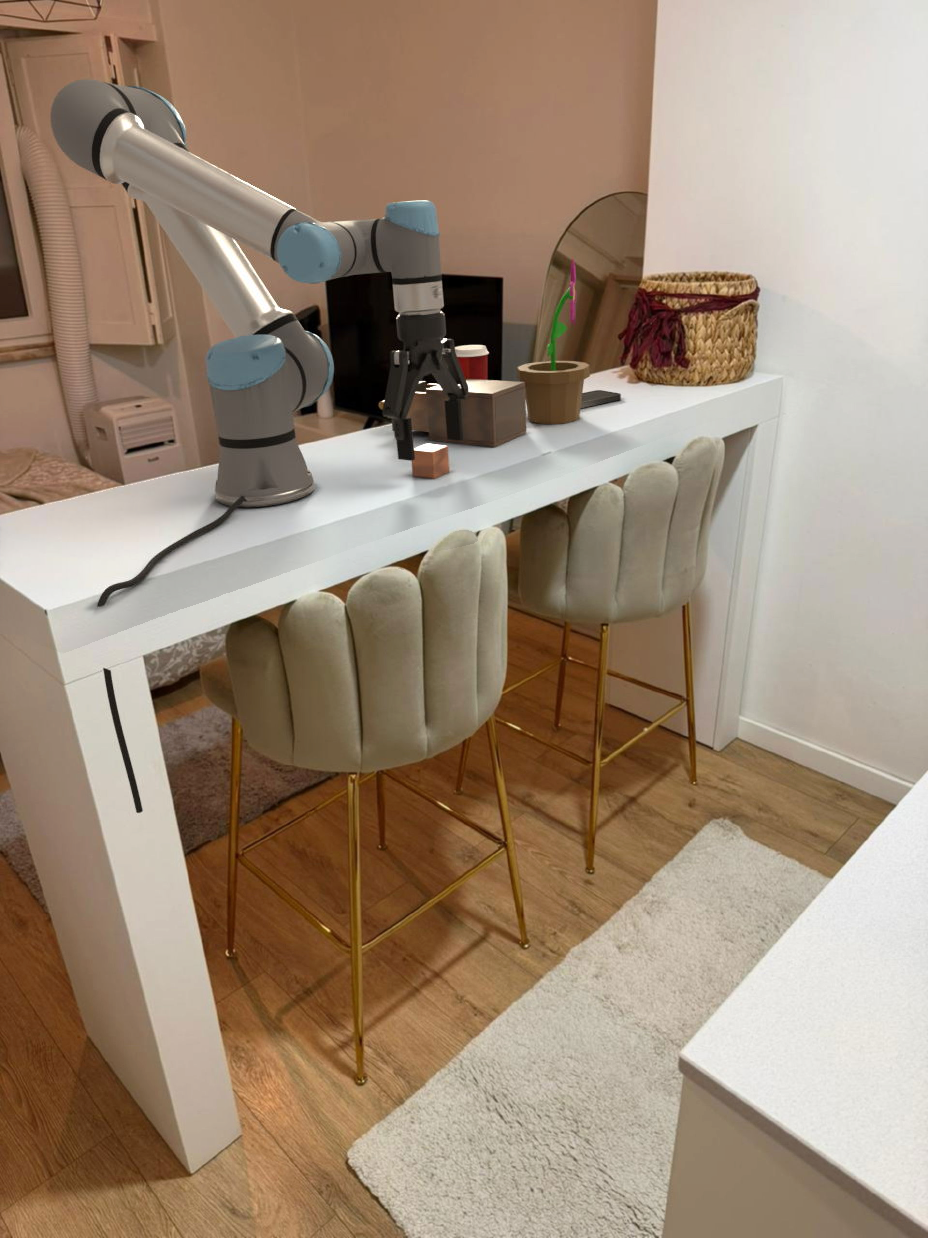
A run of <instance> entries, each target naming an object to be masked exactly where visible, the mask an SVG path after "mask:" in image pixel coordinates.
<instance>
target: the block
mask: <svg viewBox="0 0 928 1238" xmlns="http://www.w3.org/2000/svg"><path fill="white" fill-rule="evenodd" d="M414 455H415V460H412V461H411V472H412V473H411V474H412V476H413V477H417V478H418V477H419V478H424V479H425V478H427V479H433V480H435V479H437V478H439V477H441V476H444V475H446V474H449V473H450V458H449V457H450V456H449V446H448V445H445V444H443V445H442V444H434V443H424V444H422V445H419V446H416V447H414Z"/></svg>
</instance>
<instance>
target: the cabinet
mask: <svg viewBox="0 0 928 1238" xmlns="http://www.w3.org/2000/svg"><path fill="white" fill-rule="evenodd" d="M466 382H467V385H468V388H469V391H468V393H467V398H466V399H465V400H464V399H461V408H462V431H463V440H461V441H460V440H449V439H447V428H446V415H445V402H444V401H445V400H450V399H448V397H447V396H446V394H445V393H444V391H443V390H442V388H441V387H440V385H437V386H434V387H431V388H427V387H426V402H427V416H428V430H429V432H428V440H429V441H432V442H443V443H451V444H461V445H469V446H480V447H488V448H489V447H490V448H497V447H498V446H500V445H503V444H505V443H507V442H509V441H512V440H514V439H516V438H519V437H521V436H523V435H526V434H527V405H526V397H525V382H522V381H515V380H514V381H511V380H497V379H496V380H494V379H487V380H481V379H466ZM458 386H461V385H460V384H458Z"/></svg>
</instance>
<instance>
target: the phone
mask: <svg viewBox="0 0 928 1238" xmlns="http://www.w3.org/2000/svg"><path fill="white" fill-rule="evenodd" d="M621 399H622V394H621V393H619V392H614V391H607V390H601V389H596V390H590V391H586V392H582V400H581V407H580V409H585V408H588V407H593V406H598V405H603V404H607V403H610V402H616V401H621Z"/></svg>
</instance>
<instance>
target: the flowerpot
mask: <svg viewBox="0 0 928 1238" xmlns="http://www.w3.org/2000/svg"><path fill="white" fill-rule="evenodd" d="M576 285H577V268H576V264H575V260H574V257H573V258H571V261H570V281H569V287H568V288H567V290H566V291H565V293H563V295H562V297H561V298H560V301H559V303H558V305H557V306H556V309H555V312H554V314H553V320H552V326H551V331H550V343H548V345H547V346H546V350H547V357H549V356H550V360H549V361H548V360H547V361H535V362H530V363H525V364H522V365H519V366H517V368H516V373H517V374H516V375H517V377H516V378H517V379H518V380H519V382H525V397H526V413H527V418H528V420H529V422H531V423H535V424H540V425H541V424H542V425H558V424H559V425H560V424H568V423H572V422H576V421H577V420H579V419H580V414H581V408H580V407H581V400H582V393H584V392H583V391H584V383H585V380H586V379H588V378H590V376H591V365H590V364H588V363H587V362H582V361H575V360H556V339H559V337H561V336H562V335H564V333H565V332H566V331H567V329H568V327H567V326H566V325H565V323H563V322H562V321H559V317H560V314H561V312H562V310H563V307H564V305H565V303H566V302H567V300H570V303H569V306H570V307H569V315H570V322H571V323H572V327H574V326H575V325H576V324H575V322H576V304H577V289H575V287H576Z"/></svg>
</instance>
